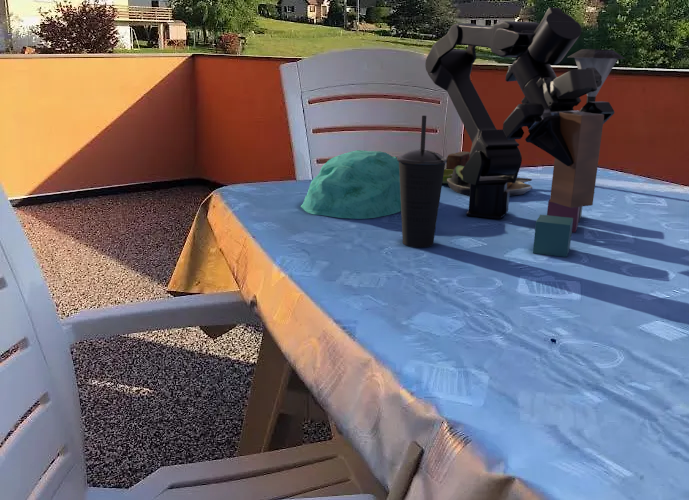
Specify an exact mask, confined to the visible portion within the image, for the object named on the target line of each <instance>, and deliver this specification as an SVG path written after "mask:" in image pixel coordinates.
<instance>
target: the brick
mask: <svg viewBox="0 0 689 500" xmlns="http://www.w3.org/2000/svg"><path fill="white" fill-rule="evenodd" d="M469 155H470V151H464V150H463V151H458V152H454V153H449V154H447V157H446V158H447V163H445V166H446V167H445V169H449V170H454V168H455V167H456V166H460V165H461V166H465V165H466V163H467V162H468V160H469V159H470V156H469Z"/></svg>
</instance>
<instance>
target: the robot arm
mask: <svg viewBox="0 0 689 500" xmlns="http://www.w3.org/2000/svg"><path fill="white" fill-rule="evenodd" d="M581 34H582V27H581V24H580V23H579V22H578V21H577V20H576V19H574V18H573V17H572V16H571V15H569V14H567V13H565V12H563V11H562V9H561V8H560V7H548V8H547V10H546V12H545V13H544V16H543V18H542V19H541V21H540V22H537V21H535V22H534V21H511V20H509V21H508V20H504V21H501V22H497V23H494V24H493V25H479V24H476V23H466V22H465V23H464V22H457V23H455V24H452V25H451V27H450V28H449V30H448V32H447V33H446V34H445V35H443V36H442V37H441V38H440V39H439V40H437V41H436V42H435V43H434V44H433V45H432V47H431V48H430V50H429V52H428V54H427V56H426V58H425V65H424V66H425V71H426V72H427V75H428V76H429V78H430V79H431V81H432V82H433V84H434V85H435V86H437V87H439V88H440V89H442V90H443V91H444V90H445V91H446V92H447V94H448V96H449V98H450V100H451V102H452V104H453V107H454V108H455V110H456V113H457V115H458V117H459V118H460V121H461V122H462V125H463V127H464V129H465V132H466V133H467V135H468V137H469V139H470V141H471V147H470V151H469V152H470V155H469V156H470V159H469V160H468V162H467V163H466V165H465V166H464V168H463V169H462V174H463V181H466V182H468V183H471V184H470V196H469V199H468V210H467V211H466V212H465V215H466V216H467V217H476V218H478V217H479V218H487V219H495V220H501V219H503V218H504V216H505V215H506V214H507V213H508V212H509V204H510V196H509V194H510V191H509V190H507V183H515V182H516V179H517V178H518V175H519V173H520V169H521V166H522V162H523V158H522V153H521V150H520V148H519V146H520V143H519V142H517V141H516V140H521V139H522V138H523V137H524V135H525V131H524V130H523V127H527V129H528V130H527V131H528V133H529V134H528V135H527V136H526V137H525V142H526V143H530V144H532V145H533V146H535V147H537V148H539V149H541V150H542V151H544V152H546V153H547V154H548V155H550V156H551V157H553V158H554V159H555V158H556V159H558V160H559V161H561V162H562V163H564V164H565V165H566V166H570V165H572V164H573V159H572V156H571V154H570V151H569V149H568V147H567V145H566V143H565V141H564V138H563V136H562V134H561V132H560V116H559V115H560V112H589V113H596V114H603V115H604V121H603V125H604V124H605V123H607V122H608V120H609V119H611V118H612V116H614V115H615V110H614V108H613V106H612V105H611V102H610V101H604V100H603V101H602V100H601V101H595V102H587V103H586V102H585V104H584V105H583V106H582V107H581V108H580V109H579V110H578V109H575V110H574V107H577V106H578V105H579V104H580V103H581V102H582V99H581V97H583V96H585V95H587V93H589V92H591V91H592V92H594V91H596V90H597V88H598V87H600V86H601V84H602V80H601V79H602V76H601V75H600V74H599V72H598V71H597V70H596V68H586V69H578V68H574V69H571V70H569V71H567V72H564V73H563V74H561V75H559V76H557V74H556V73H555V71H554V69H553V66H551V65H557V64H559V63H561V61H563V59H564V58H565V56H566V55H567V54H568V53H569V51H570V50H571V49H572V48H573V46H574V44H575V43H576V42H577V40H578V39H579V37H580V36H581ZM457 46H467V47H466V49H455V48H456V47H457ZM476 47H479V48H486V49H487V48H488V49H490V51H491V53H492V54H495V55H496V56H498V57H500V58H515V59H514V61H513V62H512V63H511V64H508V67H507V68H508V69H507V72H506V74H505V79H504V80H505V82H508V83H509V82H517V84H518V86H519V88H520V90H521V92H522V94H523V96H524V97H523V98H522V99H521V101H520V102H521V103H518V104H517V106H516V107H514V109H513V110H512V111H511V113H510V114H509V115H508V116H507V118H505V120H504V121H503V123H502V129H498V128H497V127H496V125H495V124H494V122H493V120H492V118H491V116H490V114H489V113H488V110H487V109H486V106H485V104H484V103H483V101H482V99H481V97H480V95H479V93H478V91H477V89H476V87H475V85H474V84H473V82H472V80H471V74H472V70H473V65H474V63H475V61H476V60H477V52H476Z"/></svg>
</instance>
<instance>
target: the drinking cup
mask: <svg viewBox="0 0 689 500" xmlns="http://www.w3.org/2000/svg"><path fill="white" fill-rule="evenodd" d="M420 129H421V130H420V147H419V148H420V149H413V150H409V151H407V152H404V153H403V154H401V155H398V156H396V157H397V161H398V162H399V175H400V196H401V211H400V213H401V214H400V215H401V235H402V236H401V237H402V244H403V245H404V246H407V247H411V248H427V247H428V248H429V247H432V246H434V242H435V241H434V240H435V235H436V234H435V233H436V226H437V221H438V214H439V208H440V201H441V196H442V195H441V194H442V188H443V187H442V186H443V183H442V181H443V175H444V169H446V167H445V166H446V163H447V157H446V156H443V155H442V154H440V153H438V152H436V151H434V150H429V149H426V132H427V115H421V128H420Z"/></svg>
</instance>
